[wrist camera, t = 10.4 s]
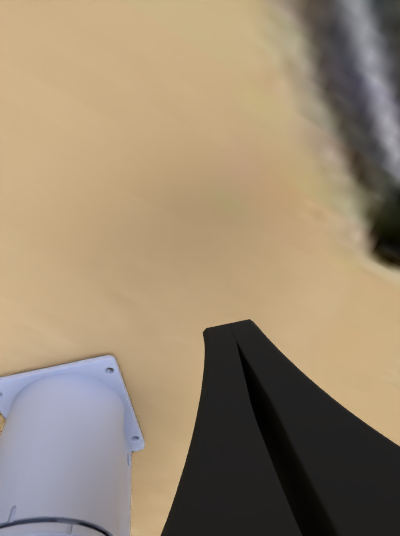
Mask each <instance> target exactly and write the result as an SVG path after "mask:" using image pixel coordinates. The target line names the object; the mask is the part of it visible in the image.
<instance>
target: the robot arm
mask: <svg viewBox="0 0 400 536" xmlns="http://www.w3.org/2000/svg"><path fill="white" fill-rule="evenodd" d="M203 336H204V343H205V360H204V372H203V381H202V390H201V396H200V401H199V407H198V412H197V417H196V422H195V427H194V431H193V435H192V440H191V444H190V447H189V451H188V455H187V459H186V462H185V466H184V469H183V472H182V475H181V479H180V482H179V485H178V488H177V491H176V495H175V498H174V501H173V504H172V507H171V510H170V512H169V515H168V518H167V521H166V523H165V526H164V529H163V531H162V534H161V536H400V446H398V445H397V444H395V443H394V442H392V441H391V440H389V439H388V438H386V437H385V436H383V435H382V434H380V433H379V432H377V431H376V430H375V429H373V428H372V427H370V426H369V425H367V424H366V423H365V422H363V421H362V420H360V419H359V418H358V417H356V416H355V415H354V414H352V413H351V412H350V411H348V410H347V409H346V408H344V407H343V406H342V405H340V404H339V403H338V402H337V401H335V400H334V399H333V398H332V397H330V396H329V395H328V394H327V393H326V392H324V391H323V390H322V389H321V388H320V387H318V386H317V385H316V384H315V383H314V382H313V381H312V380H310V379H309V378H308V377H307V376H306V375H305V374H304V373H303V372H301V371H300V370H299V369H298V368H297V367H296V366H295V365H294V364H293V363H292V362H291V361H290V360H289V359H288V358H287V357H286V356H285V355H284V354H283V353H282V352H281V351H280V350H279V349H278V348H277V347H276V346H275V345H274V344H273V343H272V342H271V341H270V340H269V339H268V338H267V337H266V336H265V335H264V333H263V332H262V331H261V330H260V329H259V328H258V327H257V325H256V324H255V323H254V322H253V321H252V320H250V319H248V320H244V321H239V322H234V323H229V324H224V325H220V326H215V327H210V328H206V329H205V330H204V332H203ZM107 368H113V369H107ZM0 412H1V414H2V415H3V417H4V419H5V420H6V422H5V424H4V427H3V430H2V432H1V435H0V536H130V531H131V474H132V452H134V451H139V450H142V449H143V448H144V447H145V441H144V438H143V435H142V432H141V429H140V426H139V424H138V421H137V418H136V415H135V412H134V409H133V407H132V404H131V401H130V398H129V395H128V392H127V390H126V387H125V384H124V381H123V378H122V375H121V373H120V370H119V367H118V364H117V361H116V359H115V357H113V356H110V355H105V356H101V357H96V358H91V359H86V360H81V361H77V362H72V363H67V364H62V365H57V366H53V367H48V368H43V369H38V370H34V371H29V372H24V373H19V374H14V375H10V376H5V377H0Z"/></svg>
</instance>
